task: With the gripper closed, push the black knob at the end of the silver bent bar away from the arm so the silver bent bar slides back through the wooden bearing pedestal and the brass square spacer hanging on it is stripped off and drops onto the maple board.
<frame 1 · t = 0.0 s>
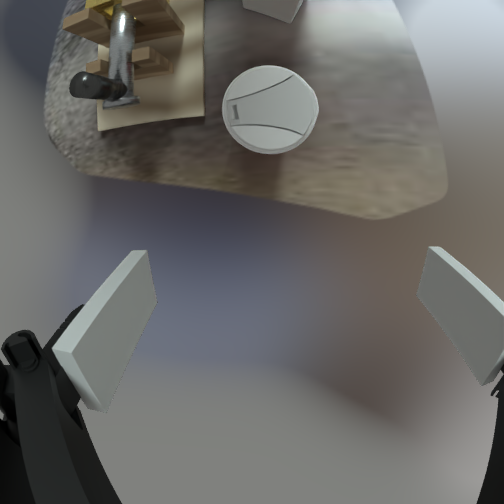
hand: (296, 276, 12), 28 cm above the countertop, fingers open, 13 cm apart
silver bent bar: (110, 32, 19), point 12 cm above the countertop, slide at 0.0 cm, touching spacer
spacer: (129, 2, 20), point 8 cm above the countertop, touching silver bent bar
wooden stand with blocks: (148, 54, 30), on the countertop
coffee cup: (265, 117, 35), on the countertop
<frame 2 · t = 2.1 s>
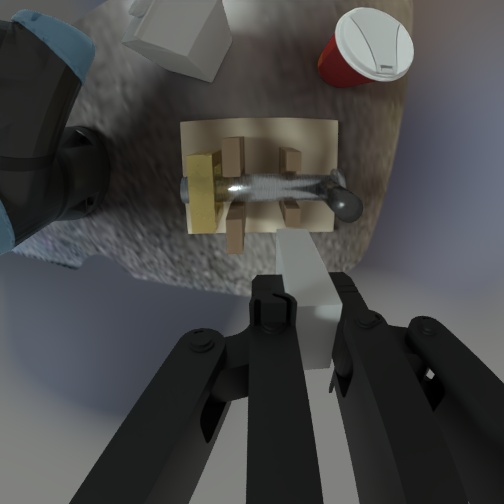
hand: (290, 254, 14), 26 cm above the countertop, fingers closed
silver bent bar: (263, 193, 27), point 12 cm above the countertop, slide at 0.0 cm, touching spacer
spacer: (207, 187, 31), point 8 cm above the countertop, touching silver bent bar
wooden stand with blocks: (260, 175, 38), on the countertop
coffee cup: (337, 68, 32), on the countertop
milk carton: (199, 54, 31), on the countertop
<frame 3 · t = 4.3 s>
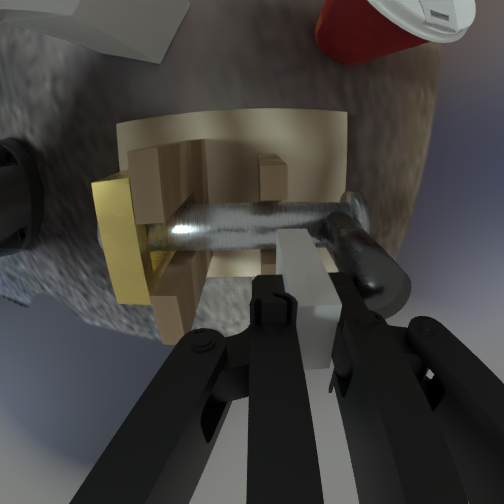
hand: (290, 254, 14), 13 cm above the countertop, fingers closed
silver bent bar: (221, 245, 15), point 12 cm above the countertop, slide at 0.2 cm, touching gripper, spacer
spacer: (143, 224, 19), point 8 cm above the countertop, touching silver bent bar
wooden stand with blocks: (231, 195, 26), on the countertop
coffee cup: (344, 38, 20), on the countertop
milk carton: (145, 28, 19), on the countertop
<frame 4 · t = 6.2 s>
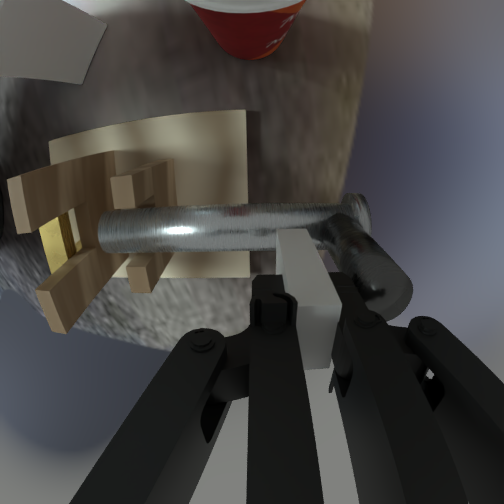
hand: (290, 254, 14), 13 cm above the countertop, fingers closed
silver bent bar: (222, 247, 15), point 12 cm above the countertop, slide at 9.3 cm, touching gripper
spacer: (76, 219, 22), point 5 cm above the countertop, touching wooden stand with blocks
wooden stand with blocks: (142, 200, 26), on the countertop
coffee cup: (249, 32, 20), on the countertop
milk carton: (72, 52, 19), on the countertop
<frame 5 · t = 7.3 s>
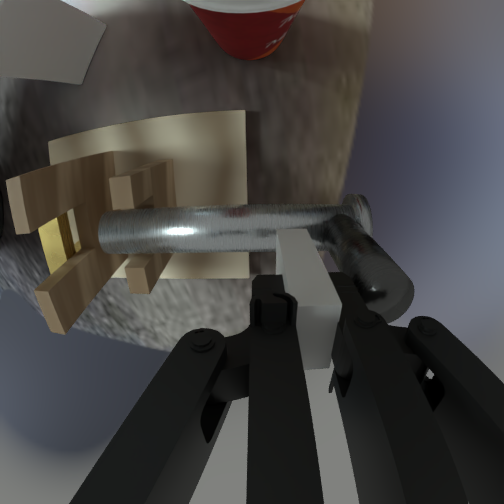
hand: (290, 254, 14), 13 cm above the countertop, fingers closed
silver bent bar: (223, 248, 15), point 12 cm above the countertop, slide at 9.5 cm, touching gripper
spacer: (75, 220, 22), point 5 cm above the countertop, touching wooden stand with blocks
wooden stand with blocks: (141, 201, 26), on the countertop
coffee cup: (249, 33, 20), on the countertop
milk carton: (72, 52, 19), on the countertop
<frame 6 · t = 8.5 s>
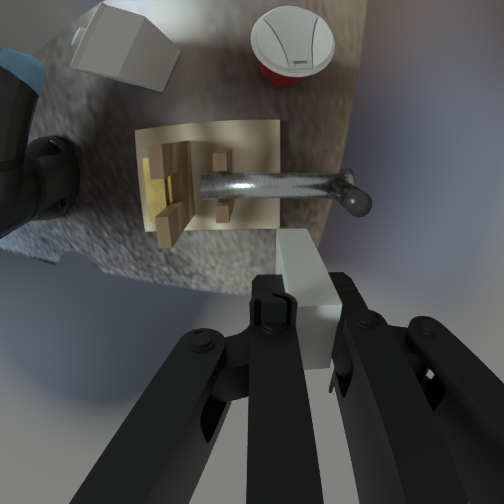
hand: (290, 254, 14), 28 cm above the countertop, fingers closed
silver bent bar: (279, 190, 29), point 12 cm above the countertop, slide at 9.5 cm
spacer: (165, 183, 36), point 5 cm above the countertop, touching wooden stand with blocks
wooden stand with blocks: (207, 175, 40), on the countertop
coffee cup: (281, 68, 34), on the countertop
milk carton: (152, 66, 33), on the countertop
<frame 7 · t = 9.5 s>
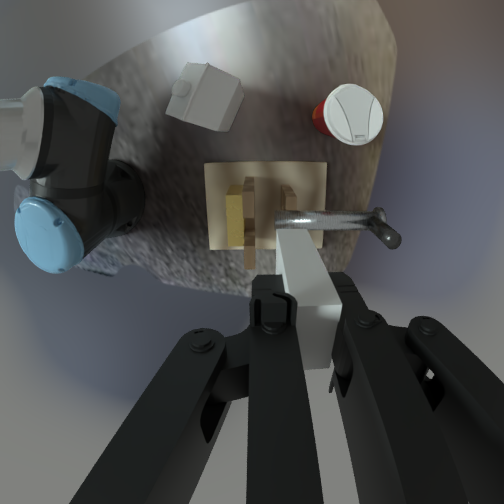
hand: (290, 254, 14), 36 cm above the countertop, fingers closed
silver bent bar: (335, 227, 39), point 12 cm above the countertop, slide at 9.5 cm
spacer: (236, 213, 46), point 5 cm above the countertop, touching wooden stand with blocks
wooden stand with blocks: (266, 205, 50), on the countertop
coffee cup: (328, 118, 44), on the countertop
milk carton: (217, 106, 43), on the countertop
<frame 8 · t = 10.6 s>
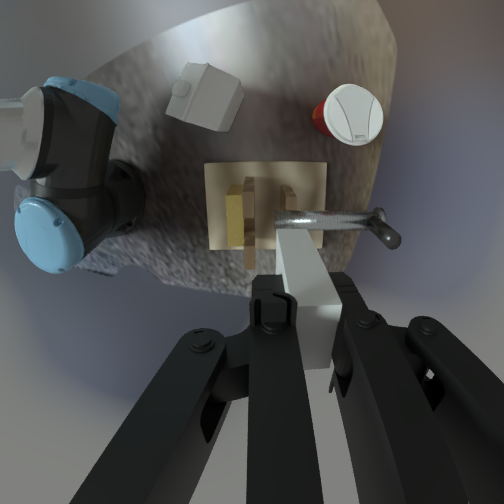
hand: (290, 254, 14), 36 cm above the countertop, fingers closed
silver bent bar: (335, 227, 39), point 12 cm above the countertop, slide at 9.5 cm
spacer: (236, 213, 46), point 5 cm above the countertop, touching wooden stand with blocks
wooden stand with blocks: (266, 205, 50), on the countertop
coffee cup: (328, 118, 44), on the countertop
milk carton: (217, 106, 43), on the countertop
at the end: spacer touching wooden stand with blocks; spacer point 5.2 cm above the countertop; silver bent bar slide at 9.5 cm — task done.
